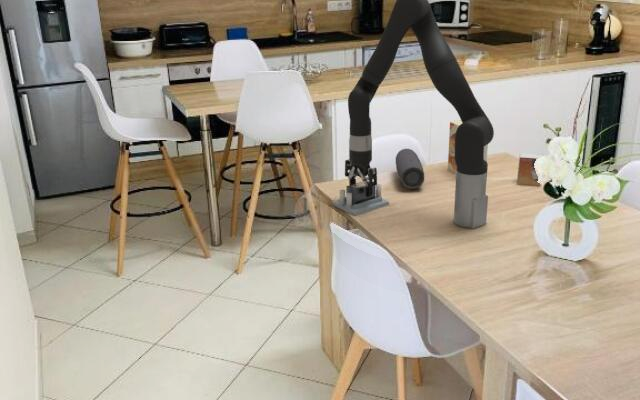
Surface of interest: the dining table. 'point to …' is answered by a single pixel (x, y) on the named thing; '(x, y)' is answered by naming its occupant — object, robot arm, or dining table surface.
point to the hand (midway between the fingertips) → (360, 193)
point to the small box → (527, 169)
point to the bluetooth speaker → (409, 168)
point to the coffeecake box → (451, 156)
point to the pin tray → (356, 209)
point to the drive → (360, 192)
